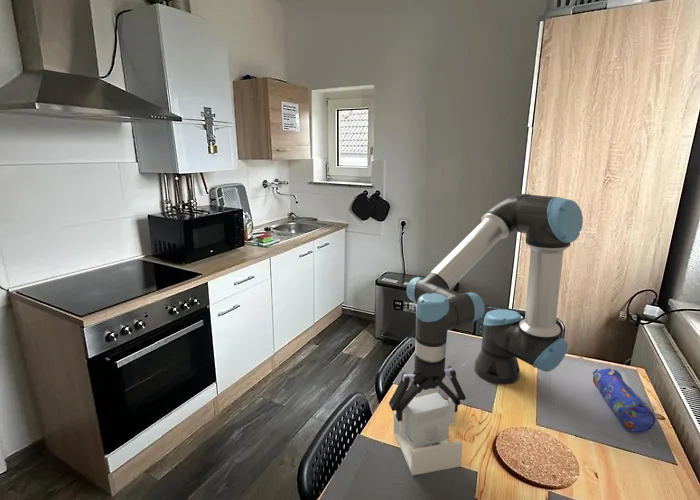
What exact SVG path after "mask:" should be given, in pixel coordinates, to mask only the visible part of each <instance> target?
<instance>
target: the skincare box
mask: <svg viewBox="0 0 700 500" xmlns="http://www.w3.org/2000/svg"><path fill="white" fill-rule="evenodd" d="M405 411H406V421H405V433H404V435H405V437H406V438H407V440H408V441H409V443H410V444H411V446H412V448H413V449H416V448H421V447H424V446H427V445H431V444H434V443H437V442H440V441H444V440H447V441H448V440H449V431H450V427H449V426H450V423H449V411H450V405H449V404H448V401H446V400H445V399H444V397H443V396H442V395H441V394H439V393H438V392H437V393H433V394H429V395H425V396H421V397H417V398H416V397H414V398H413V399H412V401H411V402H410V403H409V404H408V405H407V406H406V408H405Z"/></svg>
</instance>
